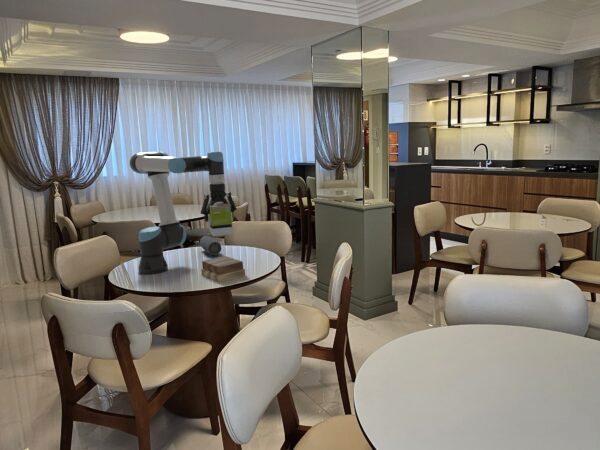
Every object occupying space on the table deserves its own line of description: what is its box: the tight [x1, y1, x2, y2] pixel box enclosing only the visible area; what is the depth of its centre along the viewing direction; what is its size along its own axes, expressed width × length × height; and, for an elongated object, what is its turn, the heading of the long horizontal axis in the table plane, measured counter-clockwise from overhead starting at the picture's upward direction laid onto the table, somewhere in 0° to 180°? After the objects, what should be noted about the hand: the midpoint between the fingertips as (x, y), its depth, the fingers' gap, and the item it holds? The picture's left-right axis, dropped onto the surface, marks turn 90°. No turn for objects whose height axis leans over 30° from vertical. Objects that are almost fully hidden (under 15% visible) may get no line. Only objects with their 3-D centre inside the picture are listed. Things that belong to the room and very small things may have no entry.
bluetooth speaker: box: [199, 235, 222, 256], centre depth 271 cm, size 23×9×10 cm, turn 25°
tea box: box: [207, 202, 234, 237], centre depth 218 cm, size 15×10×15 cm, turn 19°
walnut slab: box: [201, 255, 244, 275], centre depth 222 cm, size 17×14×4 cm
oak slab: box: [200, 267, 246, 283], centre depth 222 cm, size 18×15×4 cm
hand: (220, 226), depth 218 cm, fingers closed on tea box, 12 cm apart
